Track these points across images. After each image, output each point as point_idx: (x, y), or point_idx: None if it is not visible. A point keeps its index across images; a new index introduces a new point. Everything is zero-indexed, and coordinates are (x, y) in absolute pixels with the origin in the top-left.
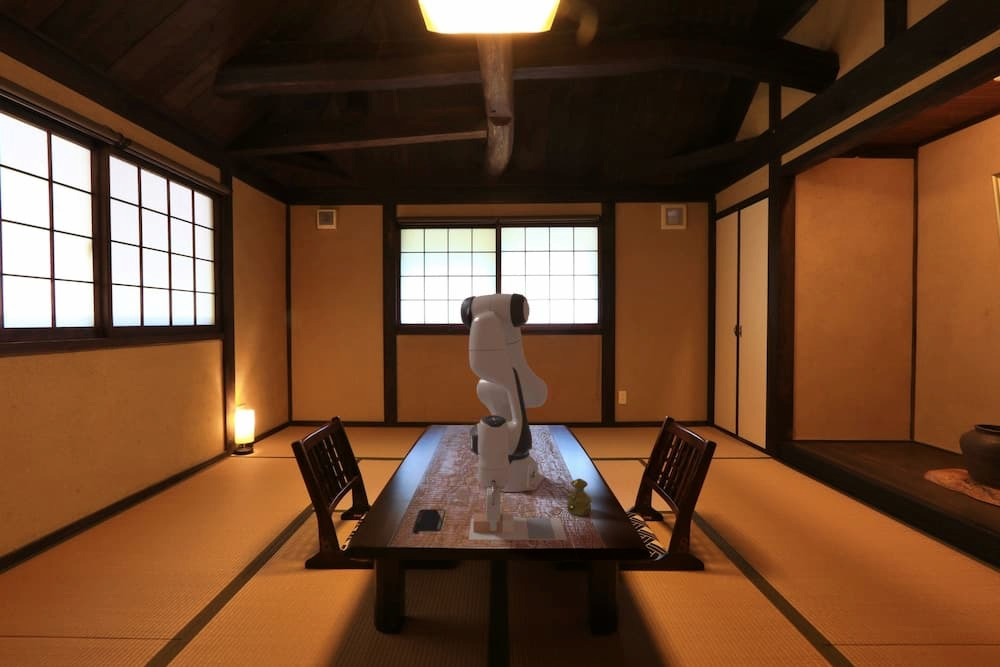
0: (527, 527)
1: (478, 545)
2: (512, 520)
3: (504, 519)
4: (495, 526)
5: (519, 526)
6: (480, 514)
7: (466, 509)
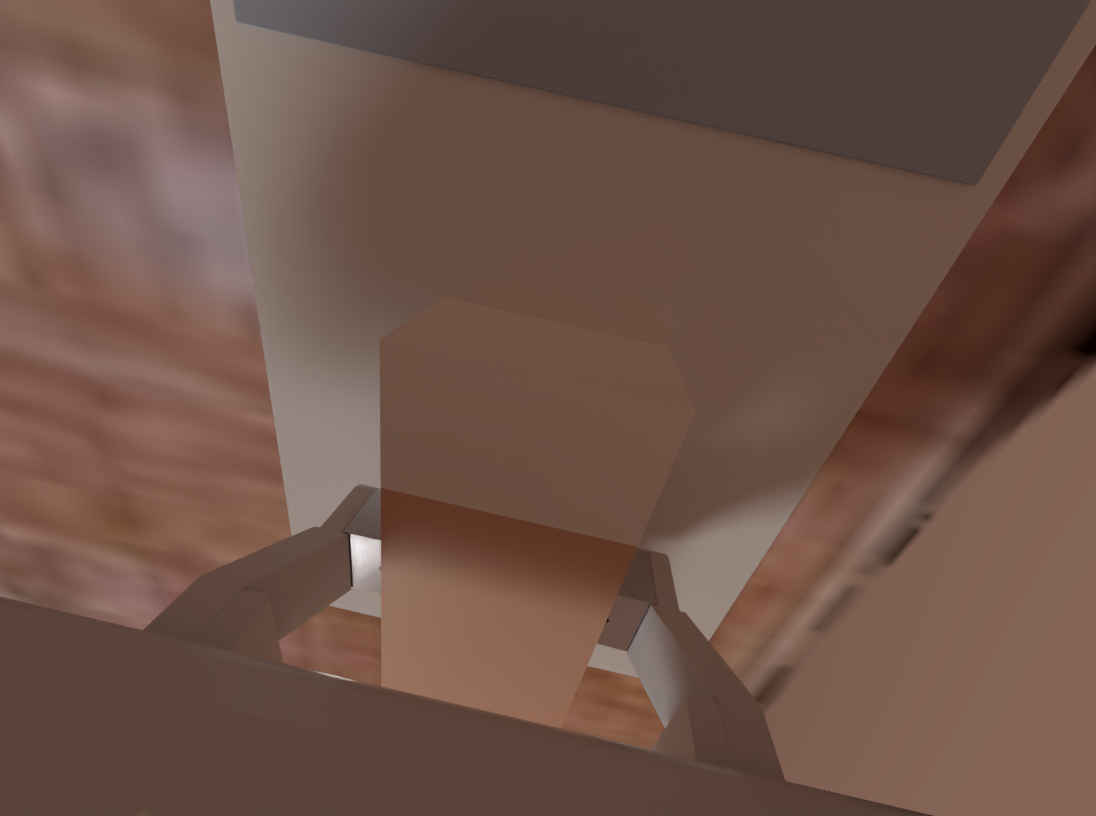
0: (584, 96)
1: (758, 638)
2: (655, 420)
3: (579, 511)
4: (671, 594)
5: (518, 223)
6: (392, 671)
7: (121, 569)
